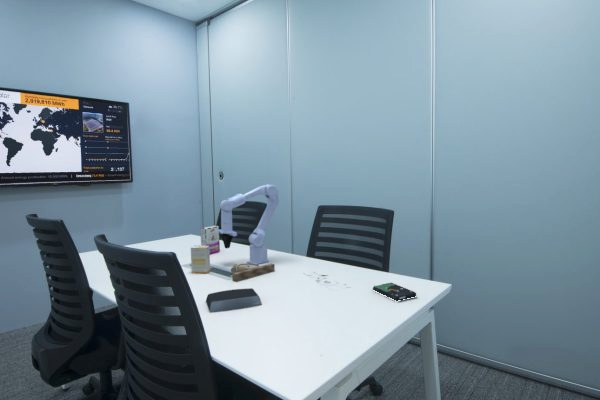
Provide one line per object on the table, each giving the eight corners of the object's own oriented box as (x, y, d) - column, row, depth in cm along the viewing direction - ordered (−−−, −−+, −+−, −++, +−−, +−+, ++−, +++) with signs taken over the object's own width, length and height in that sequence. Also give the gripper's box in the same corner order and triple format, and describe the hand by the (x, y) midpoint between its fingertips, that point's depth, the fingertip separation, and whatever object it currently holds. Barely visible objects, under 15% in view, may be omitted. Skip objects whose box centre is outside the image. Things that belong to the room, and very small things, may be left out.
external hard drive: (262, 307, 135) (262, 296, 134) (209, 314, 128) (209, 303, 127) (254, 295, 147) (253, 286, 146) (205, 302, 140) (205, 292, 139)
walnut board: (271, 270, 182) (271, 263, 182) (274, 271, 181) (274, 264, 180) (232, 280, 165) (232, 273, 165) (235, 281, 163) (235, 274, 163)
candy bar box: (214, 251, 227) (213, 225, 225) (220, 252, 224) (219, 226, 223) (200, 254, 217) (199, 227, 216) (206, 255, 215) (205, 228, 213)
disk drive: (416, 299, 142) (391, 288, 155) (416, 292, 142) (391, 281, 155) (396, 303, 137) (372, 291, 151) (396, 296, 137) (372, 285, 150)
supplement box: (210, 270, 182) (209, 245, 181) (207, 273, 177) (206, 247, 176) (194, 270, 183) (194, 245, 182) (191, 273, 178) (190, 247, 177)
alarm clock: (264, 267, 178) (238, 267, 169) (263, 277, 178) (236, 277, 169) (252, 262, 187) (227, 262, 177) (251, 272, 187) (225, 272, 177)
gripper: (212, 222, 192) (213, 247, 194) (228, 225, 183) (229, 251, 184) (223, 220, 198) (223, 245, 199) (239, 223, 188) (240, 249, 189)
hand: (227, 248), depth 192 cm, fingers closed
